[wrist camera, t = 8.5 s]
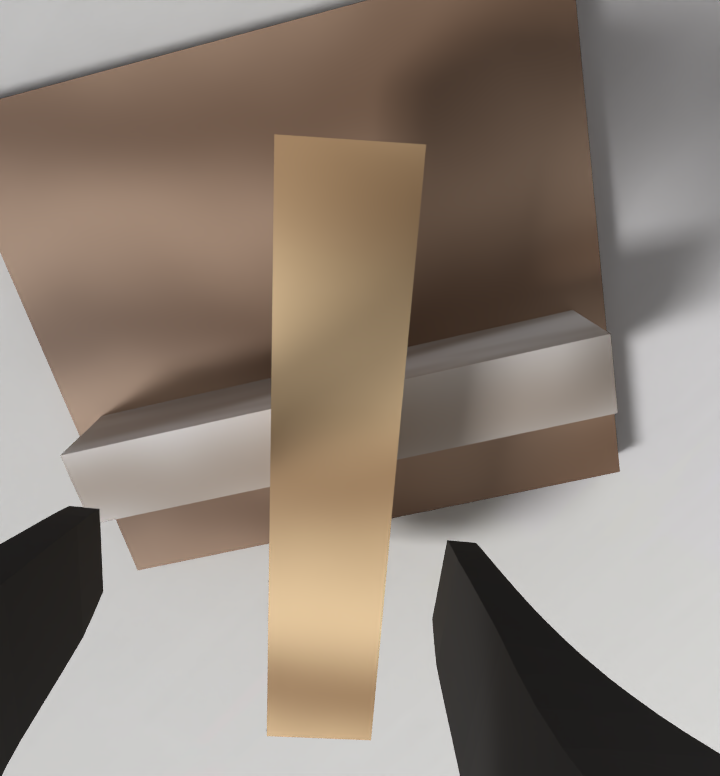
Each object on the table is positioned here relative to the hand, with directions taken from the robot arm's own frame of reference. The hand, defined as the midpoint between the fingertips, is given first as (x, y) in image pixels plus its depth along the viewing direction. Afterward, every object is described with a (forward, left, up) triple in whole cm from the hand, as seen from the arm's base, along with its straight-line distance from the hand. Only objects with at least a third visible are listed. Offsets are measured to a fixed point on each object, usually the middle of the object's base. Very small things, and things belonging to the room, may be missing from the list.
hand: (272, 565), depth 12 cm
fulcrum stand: (-3, +1, -9) cm, 10 cm away
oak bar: (0, +1, -5) cm, 6 cm away
